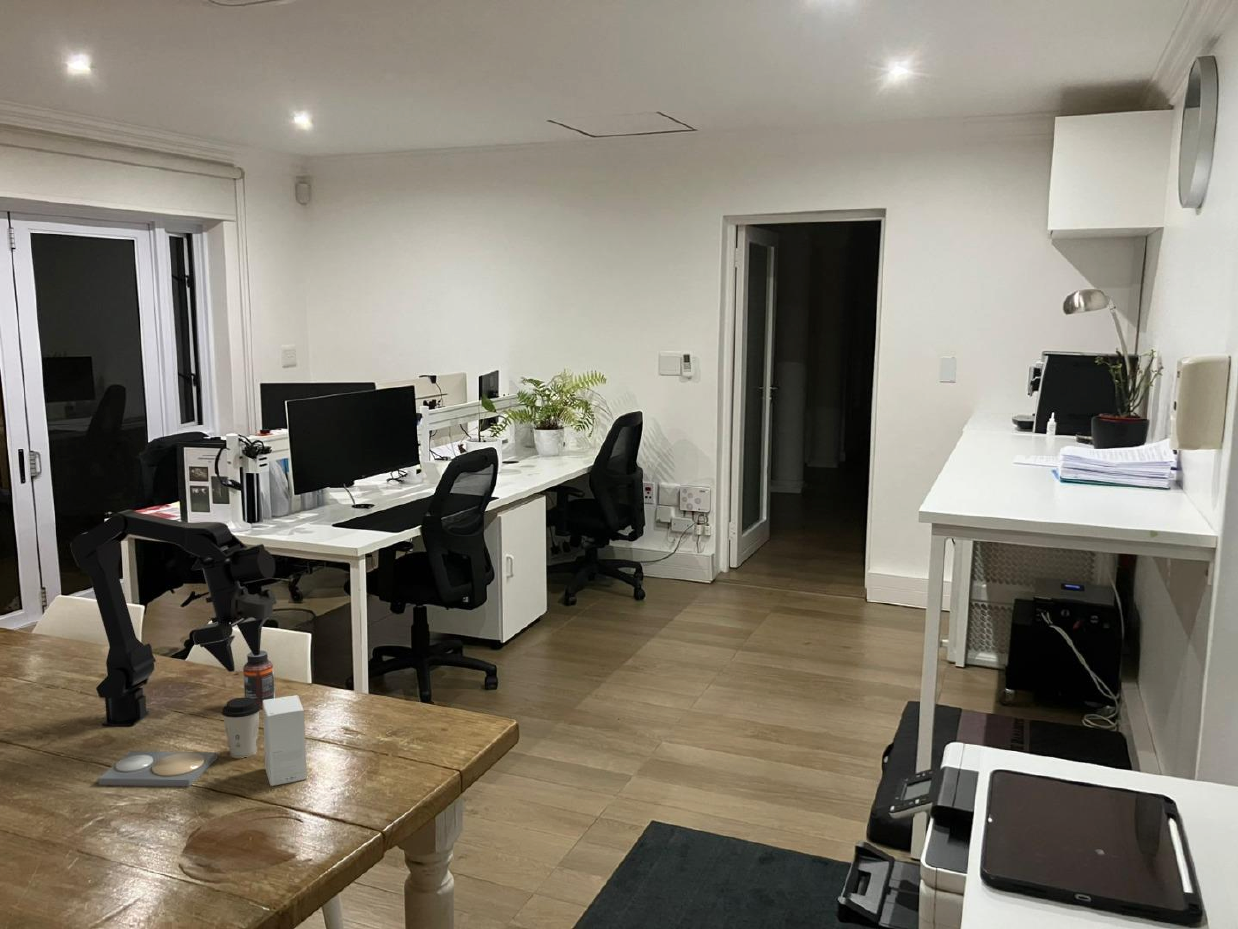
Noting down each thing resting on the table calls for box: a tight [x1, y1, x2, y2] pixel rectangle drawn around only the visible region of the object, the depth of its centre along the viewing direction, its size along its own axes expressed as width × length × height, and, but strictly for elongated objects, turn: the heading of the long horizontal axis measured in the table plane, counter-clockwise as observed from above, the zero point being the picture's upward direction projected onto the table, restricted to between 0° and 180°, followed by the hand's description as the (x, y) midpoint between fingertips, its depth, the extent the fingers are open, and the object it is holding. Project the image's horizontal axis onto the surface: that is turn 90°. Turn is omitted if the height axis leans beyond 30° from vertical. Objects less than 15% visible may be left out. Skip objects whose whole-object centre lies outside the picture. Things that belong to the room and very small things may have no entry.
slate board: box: [98, 750, 218, 788], centre depth 174 cm, size 16×11×2 cm
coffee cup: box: [221, 697, 262, 759], centre depth 181 cm, size 7×7×10 cm
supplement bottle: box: [242, 650, 276, 709], centre depth 204 cm, size 6×6×11 cm
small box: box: [262, 694, 308, 787], centre depth 173 cm, size 8×6×13 cm
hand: (244, 663), depth 190 cm, fingers open, 9 cm apart
